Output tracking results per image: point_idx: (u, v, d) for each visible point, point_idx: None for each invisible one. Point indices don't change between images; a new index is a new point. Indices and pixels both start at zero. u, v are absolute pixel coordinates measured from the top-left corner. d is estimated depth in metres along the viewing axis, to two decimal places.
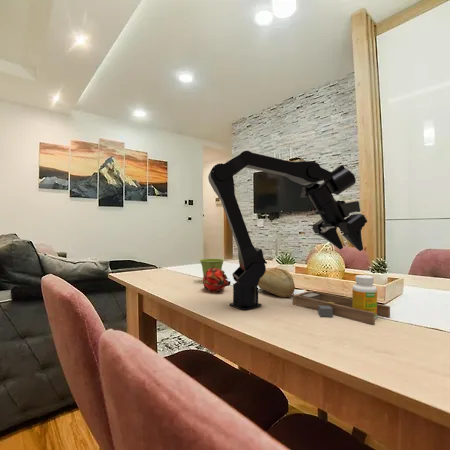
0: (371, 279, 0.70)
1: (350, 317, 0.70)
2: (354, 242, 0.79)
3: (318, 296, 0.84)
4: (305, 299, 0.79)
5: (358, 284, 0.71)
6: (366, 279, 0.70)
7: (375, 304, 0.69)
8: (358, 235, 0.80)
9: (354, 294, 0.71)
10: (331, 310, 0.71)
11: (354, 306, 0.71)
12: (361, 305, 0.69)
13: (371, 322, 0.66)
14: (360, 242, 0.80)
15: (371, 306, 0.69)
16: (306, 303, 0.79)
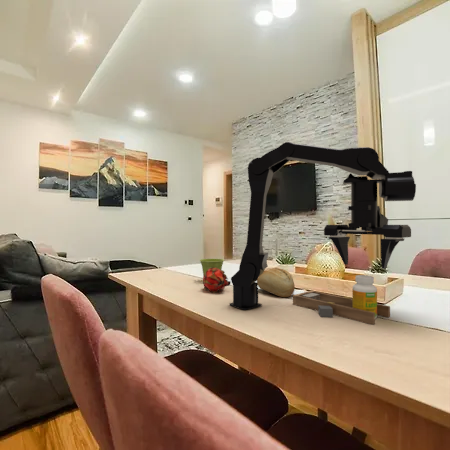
0: (371, 279, 0.70)
1: (350, 317, 0.70)
2: (386, 254, 0.66)
3: (318, 296, 0.84)
4: (305, 299, 0.79)
5: (358, 284, 0.71)
6: (366, 279, 0.70)
7: (375, 304, 0.69)
8: (391, 249, 0.67)
9: (354, 294, 0.71)
10: (331, 310, 0.71)
11: (354, 306, 0.71)
12: (361, 305, 0.69)
13: (371, 322, 0.66)
14: (388, 259, 0.68)
15: (371, 306, 0.69)
16: (306, 303, 0.79)
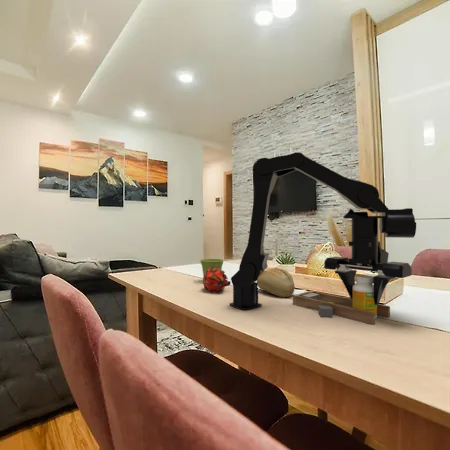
0: (371, 279, 0.70)
1: (350, 317, 0.70)
2: (379, 291, 0.68)
3: (318, 296, 0.84)
4: (305, 299, 0.79)
5: (358, 284, 0.71)
6: (366, 279, 0.70)
7: None
8: (383, 286, 0.69)
9: (354, 294, 0.71)
10: (331, 310, 0.71)
11: (354, 306, 0.71)
12: (361, 304, 0.69)
13: (371, 322, 0.66)
14: (381, 295, 0.69)
15: (371, 306, 0.69)
16: (306, 303, 0.79)
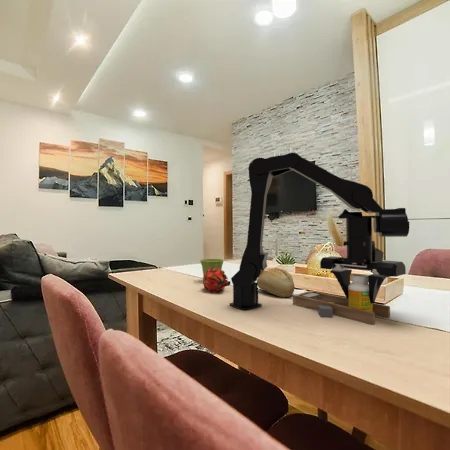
0: (366, 278, 0.71)
1: (350, 317, 0.70)
2: (374, 290, 0.68)
3: (318, 296, 0.84)
4: (305, 299, 0.79)
5: (354, 283, 0.72)
6: (362, 278, 0.70)
7: (371, 303, 0.70)
8: (378, 284, 0.70)
9: (350, 293, 0.72)
10: (331, 310, 0.71)
11: (350, 305, 0.72)
12: (357, 303, 0.70)
13: (371, 322, 0.66)
14: (376, 294, 0.70)
15: (367, 305, 0.70)
16: (306, 303, 0.79)
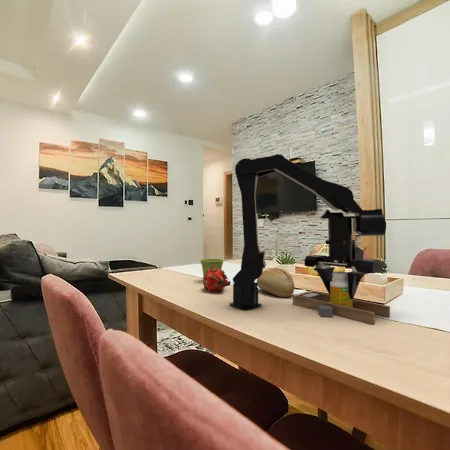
0: (346, 275, 0.75)
1: (350, 317, 0.70)
2: (353, 286, 0.72)
3: (318, 296, 0.84)
4: (305, 299, 0.79)
5: (334, 280, 0.76)
6: (341, 275, 0.75)
7: None
8: (357, 281, 0.74)
9: (331, 289, 0.76)
10: (331, 310, 0.71)
11: (331, 301, 0.76)
12: (337, 299, 0.74)
13: (371, 322, 0.66)
14: (355, 290, 0.74)
15: (346, 300, 0.74)
16: (306, 303, 0.79)
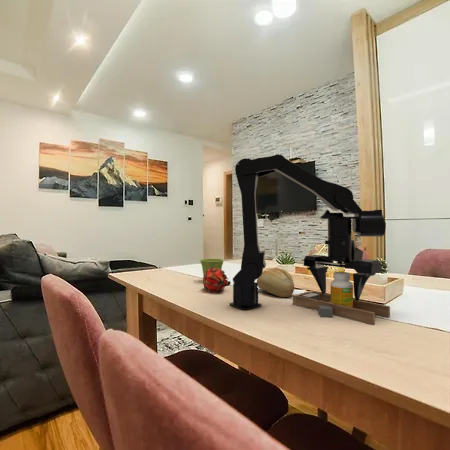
0: (347, 275, 0.75)
1: (350, 317, 0.70)
2: (358, 287, 0.71)
3: (318, 296, 0.84)
4: (305, 299, 0.79)
5: (335, 280, 0.76)
6: (342, 275, 0.74)
7: (351, 299, 0.74)
8: (363, 282, 0.72)
9: (331, 289, 0.76)
10: (331, 310, 0.71)
11: (332, 301, 0.76)
12: (338, 299, 0.74)
13: (371, 322, 0.66)
14: (361, 291, 0.73)
15: (347, 301, 0.74)
16: (306, 303, 0.79)
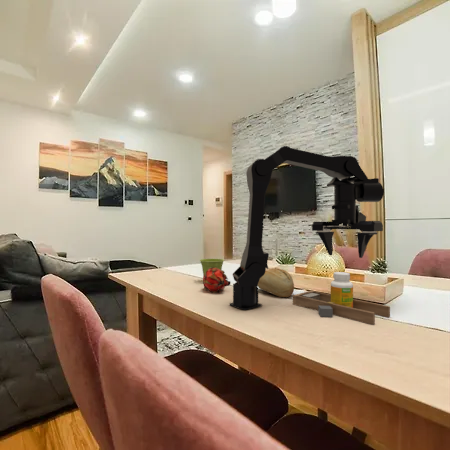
0: (347, 275, 0.75)
1: (350, 317, 0.70)
2: (362, 245, 0.79)
3: (318, 296, 0.84)
4: (305, 299, 0.79)
5: (335, 280, 0.76)
6: (342, 275, 0.74)
7: (351, 299, 0.74)
8: (366, 241, 0.81)
9: (331, 289, 0.76)
10: (331, 310, 0.71)
11: (332, 301, 0.76)
12: (338, 299, 0.74)
13: (371, 322, 0.66)
14: (364, 249, 0.81)
15: (347, 301, 0.74)
16: (306, 303, 0.79)
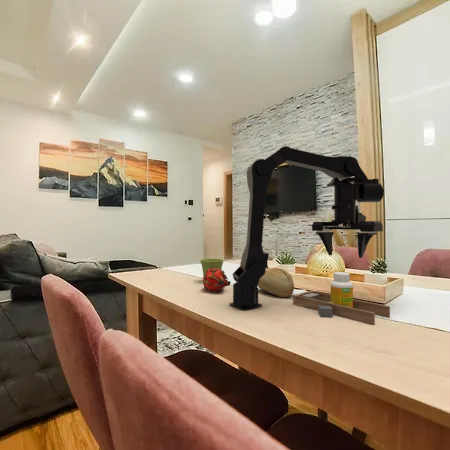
0: (347, 275, 0.75)
1: (350, 317, 0.70)
2: (362, 245, 0.80)
3: (318, 296, 0.84)
4: (305, 299, 0.79)
5: (335, 280, 0.76)
6: (342, 275, 0.74)
7: (351, 299, 0.74)
8: (366, 242, 0.81)
9: (331, 289, 0.76)
10: (331, 310, 0.71)
11: (332, 301, 0.76)
12: (338, 299, 0.74)
13: (371, 322, 0.66)
14: (364, 250, 0.81)
15: (347, 301, 0.74)
16: (306, 303, 0.79)
